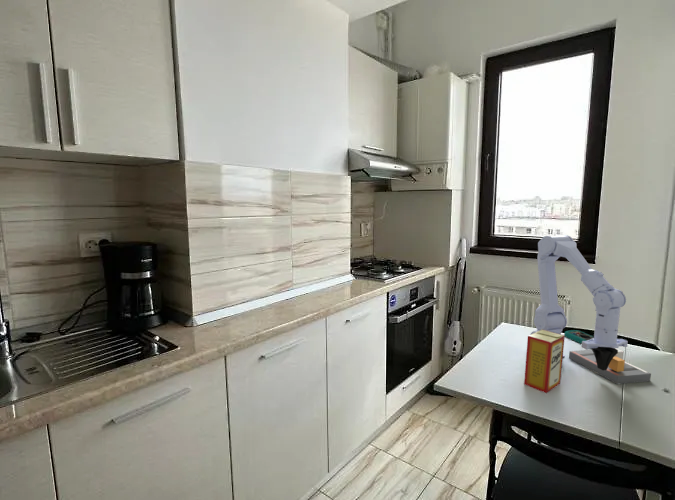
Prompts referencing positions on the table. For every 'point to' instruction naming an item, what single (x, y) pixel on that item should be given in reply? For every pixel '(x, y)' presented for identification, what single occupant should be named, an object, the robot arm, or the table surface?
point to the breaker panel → (626, 376)
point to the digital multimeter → (577, 336)
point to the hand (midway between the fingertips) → (601, 368)
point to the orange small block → (617, 364)
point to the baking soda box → (544, 360)
